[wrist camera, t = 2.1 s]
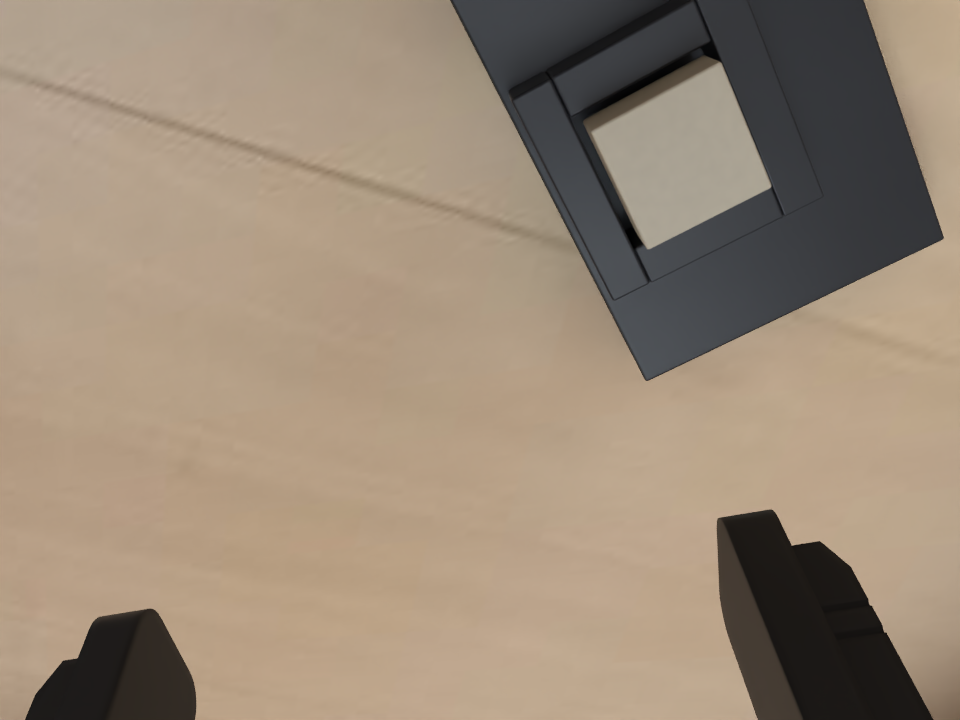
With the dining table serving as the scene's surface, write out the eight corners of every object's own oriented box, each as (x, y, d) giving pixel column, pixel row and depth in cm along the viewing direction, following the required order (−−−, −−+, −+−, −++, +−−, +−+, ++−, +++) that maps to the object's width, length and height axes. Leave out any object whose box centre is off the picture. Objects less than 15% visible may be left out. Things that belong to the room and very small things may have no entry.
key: (581, 120, 25) (589, 131, 23) (703, 54, 24) (721, 60, 22) (636, 233, 26) (647, 251, 24) (753, 173, 25) (773, 187, 24)
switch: (435, -33, 26) (431, -32, 23) (756, -223, 25) (809, -255, 21) (634, 355, 32) (657, 407, 28) (912, 220, 30) (976, 256, 26)
